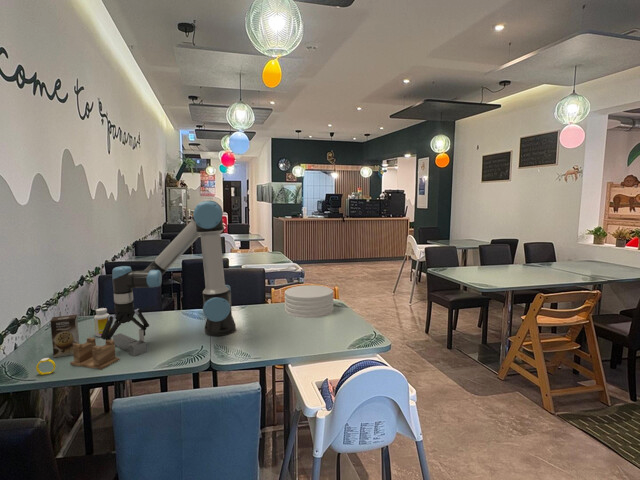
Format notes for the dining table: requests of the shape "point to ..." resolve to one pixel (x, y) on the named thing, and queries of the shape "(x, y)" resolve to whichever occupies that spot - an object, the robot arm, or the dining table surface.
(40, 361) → the watch
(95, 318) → the supplement bottle
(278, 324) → the dining table surface
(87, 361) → the cradle rack
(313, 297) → the plate stack
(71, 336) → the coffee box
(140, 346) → the grey t-shaped block
